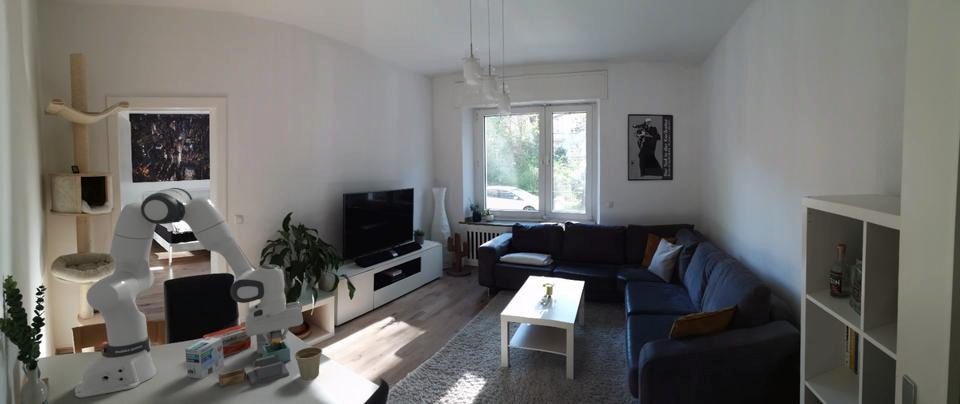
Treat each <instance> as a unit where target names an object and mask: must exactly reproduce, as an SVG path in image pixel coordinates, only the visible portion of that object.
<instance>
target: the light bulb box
mask: <svg viewBox="0 0 960 404" xmlns="http://www.w3.org/2000/svg"><path fill="white" fill-rule="evenodd" d="M184 351H185V361H186V364H185V365H186V371H187V372H186V373H187V375H186V376H187V378H196V379H205V378H206V377H207V376H209V375H211V374H213V373H214V372H216V371H218V370H219V369H221V368H222V367H224V366H225V362H224V356H223V345H222V338H211V337H207V338H205V339H201V340H200V341H197V342H196V343H194V344H192V345H190V346H188V347H186V348H185V349H184Z"/></svg>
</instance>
